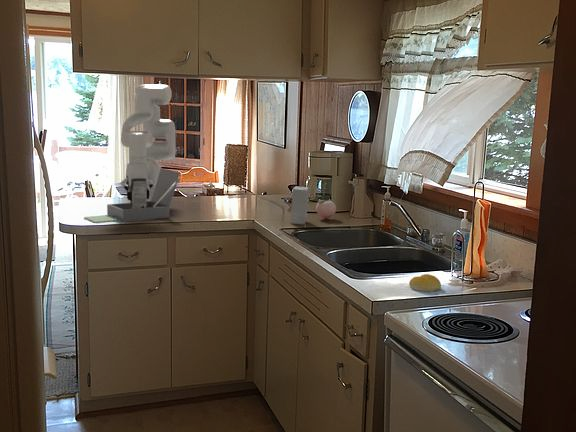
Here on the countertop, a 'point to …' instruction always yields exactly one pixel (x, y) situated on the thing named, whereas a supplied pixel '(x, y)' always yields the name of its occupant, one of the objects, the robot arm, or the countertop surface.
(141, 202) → the coffee box
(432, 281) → the bread roll
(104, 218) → the mat
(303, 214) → the skincare box
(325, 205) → the decorative fruit
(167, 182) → the case
